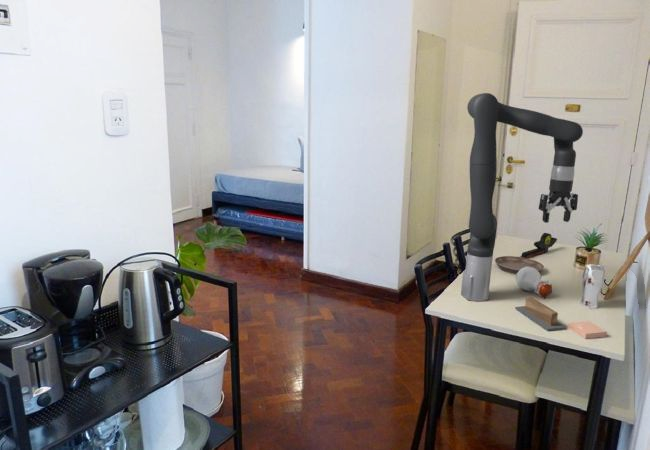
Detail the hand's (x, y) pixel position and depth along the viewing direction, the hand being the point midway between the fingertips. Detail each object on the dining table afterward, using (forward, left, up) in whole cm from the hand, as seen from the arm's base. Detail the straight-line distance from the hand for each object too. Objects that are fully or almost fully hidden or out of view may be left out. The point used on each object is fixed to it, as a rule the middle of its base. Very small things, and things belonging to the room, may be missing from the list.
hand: (555, 221), depth 183 cm
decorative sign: (+34, +51, -30) cm, 68 cm away
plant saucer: (+10, +32, -31) cm, 45 cm away
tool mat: (-14, -16, -30) cm, 37 cm away
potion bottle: (-1, +7, -30) cm, 31 cm away
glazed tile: (-5, -24, -29) cm, 38 cm away
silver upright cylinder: (+12, -9, -30) cm, 34 cm away
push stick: (-14, -16, -29) cm, 36 cm away
